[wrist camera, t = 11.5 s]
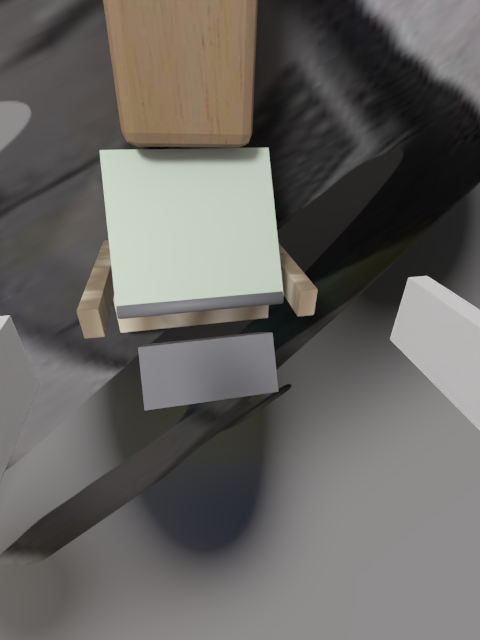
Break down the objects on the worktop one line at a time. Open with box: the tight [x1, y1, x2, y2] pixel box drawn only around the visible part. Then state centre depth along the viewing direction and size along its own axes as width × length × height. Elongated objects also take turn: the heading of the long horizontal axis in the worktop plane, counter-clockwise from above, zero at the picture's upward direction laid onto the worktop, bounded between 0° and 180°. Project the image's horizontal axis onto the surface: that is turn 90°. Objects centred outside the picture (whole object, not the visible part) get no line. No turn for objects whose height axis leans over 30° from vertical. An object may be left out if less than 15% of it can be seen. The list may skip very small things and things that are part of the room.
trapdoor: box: [99, 147, 284, 410], centre depth 30 cm, size 14×21×4 cm
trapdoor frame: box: [77, 240, 318, 338], centre depth 36 cm, size 19×11×16 cm, turn 89°
